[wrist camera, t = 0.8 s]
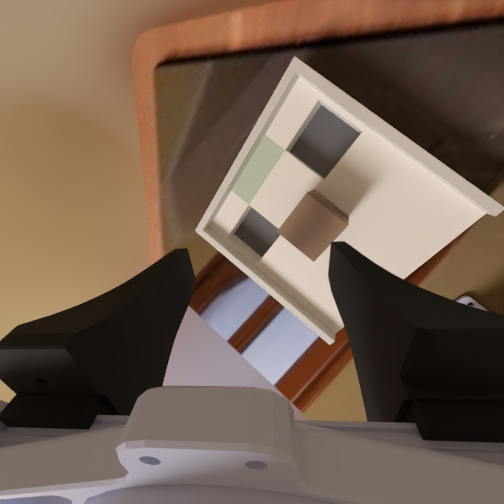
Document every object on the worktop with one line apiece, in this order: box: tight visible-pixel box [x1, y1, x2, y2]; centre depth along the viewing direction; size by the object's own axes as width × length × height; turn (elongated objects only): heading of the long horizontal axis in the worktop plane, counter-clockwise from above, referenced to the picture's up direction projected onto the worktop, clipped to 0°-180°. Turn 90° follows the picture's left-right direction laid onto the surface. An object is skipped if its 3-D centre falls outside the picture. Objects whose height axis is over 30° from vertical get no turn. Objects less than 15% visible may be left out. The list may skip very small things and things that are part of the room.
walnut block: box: [277, 189, 349, 262], centre depth 24 cm, size 4×4×4 cm
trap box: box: [195, 56, 504, 345], centre depth 26 cm, size 21×20×4 cm
